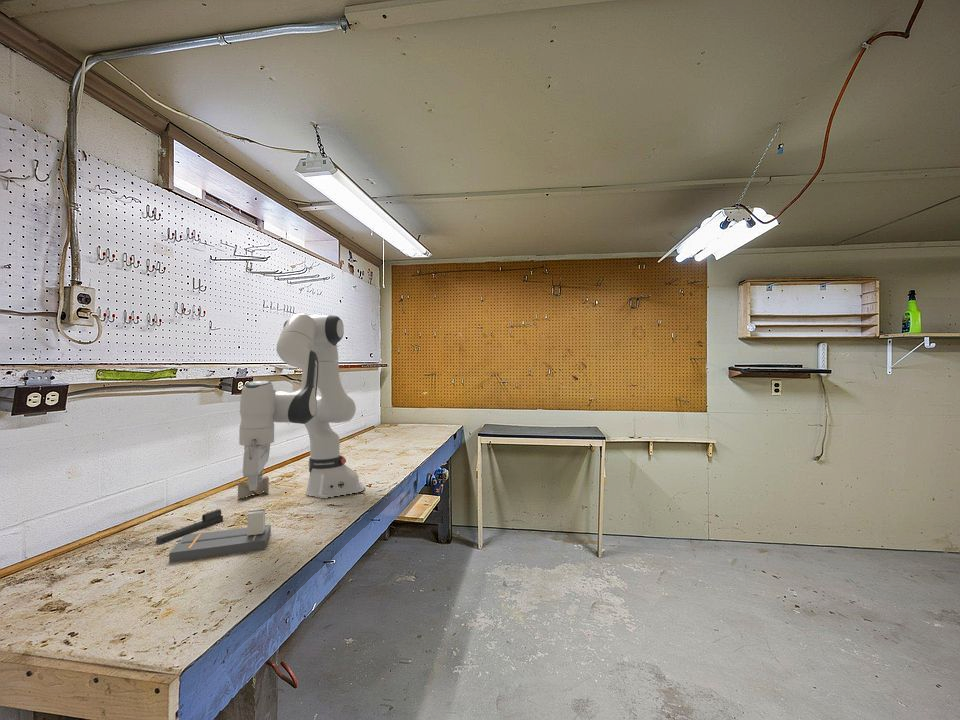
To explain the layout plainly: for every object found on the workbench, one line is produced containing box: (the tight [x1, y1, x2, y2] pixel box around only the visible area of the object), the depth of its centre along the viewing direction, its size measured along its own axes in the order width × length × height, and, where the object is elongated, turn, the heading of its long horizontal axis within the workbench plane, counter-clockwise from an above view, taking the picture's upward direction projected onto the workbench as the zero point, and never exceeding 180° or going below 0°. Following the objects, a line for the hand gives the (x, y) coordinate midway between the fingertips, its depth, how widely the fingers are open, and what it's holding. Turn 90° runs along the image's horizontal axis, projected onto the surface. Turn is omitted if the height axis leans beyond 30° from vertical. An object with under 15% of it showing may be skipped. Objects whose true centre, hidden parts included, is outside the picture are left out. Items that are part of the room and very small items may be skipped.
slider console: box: [168, 524, 272, 563], centre depth 115 cm, size 22×12×3 cm, turn 110°
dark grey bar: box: [155, 508, 224, 545], centre depth 126 cm, size 19×3×4 cm, turn 159°
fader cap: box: [246, 507, 266, 536], centre depth 118 cm, size 4×4×6 cm
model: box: [237, 474, 270, 500], centre depth 160 cm, size 3×11×8 cm, turn 154°
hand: (256, 485), depth 118 cm, fingers open, 8 cm apart
